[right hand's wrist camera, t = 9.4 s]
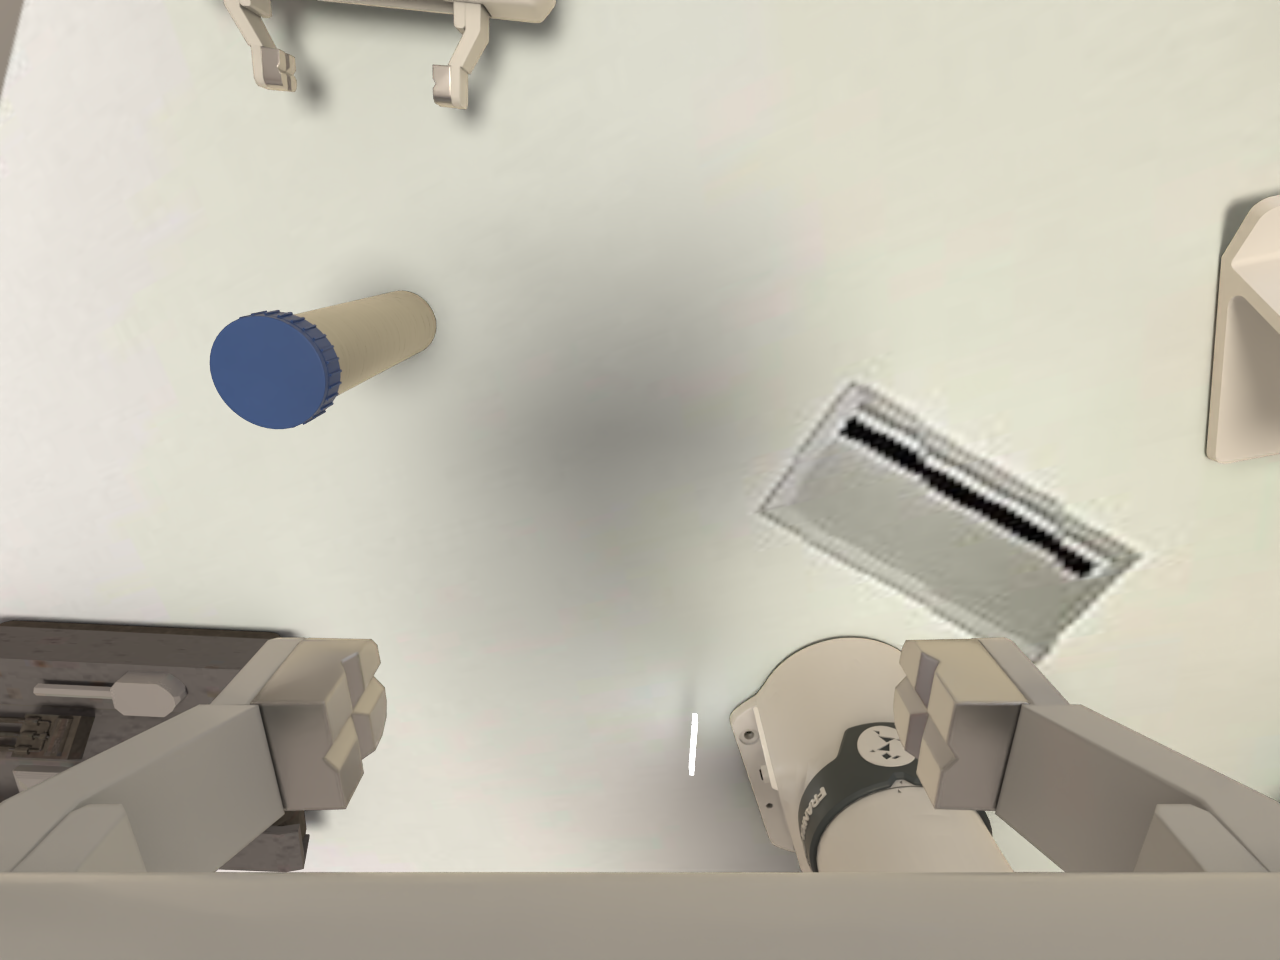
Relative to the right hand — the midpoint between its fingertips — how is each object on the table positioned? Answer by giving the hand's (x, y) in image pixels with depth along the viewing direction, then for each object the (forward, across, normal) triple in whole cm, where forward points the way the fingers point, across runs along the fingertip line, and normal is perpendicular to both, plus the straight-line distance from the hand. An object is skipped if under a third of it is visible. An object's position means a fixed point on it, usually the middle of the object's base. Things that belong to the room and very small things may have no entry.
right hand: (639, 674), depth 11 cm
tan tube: (+39, -16, 0) cm, 42 cm away
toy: (+38, -40, -33) cm, 65 cm away
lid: (+21, -16, 0) cm, 26 cm away
